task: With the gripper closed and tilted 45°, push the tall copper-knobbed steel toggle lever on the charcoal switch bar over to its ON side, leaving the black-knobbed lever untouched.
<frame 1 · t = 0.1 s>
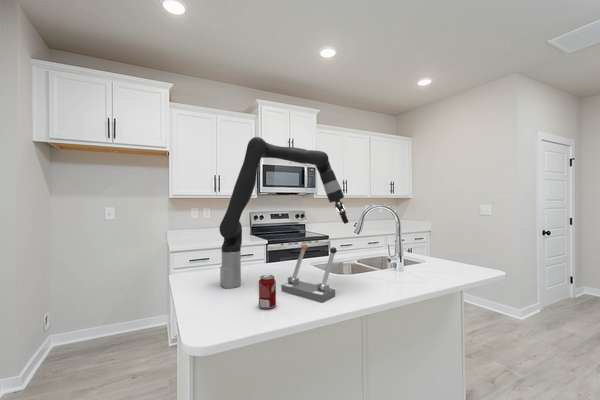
hand: (345, 222, 136), 31 cm above the counter, tool tilted 20°, fingers open, 8 cm apart
copper lever: (299, 262, 136), point 12 cm above the counter, hinge at -30.0°
switch bar: (307, 293, 127), on the counter
soda can: (267, 307, 112), on the counter
black lever: (328, 268, 125), point 12 cm above the counter, hinge at -30.0°
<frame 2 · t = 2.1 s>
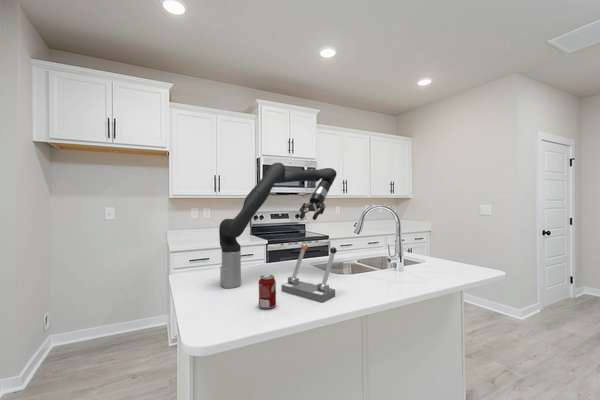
hand: (307, 218, 150), 32 cm above the counter, tool tilted 45°, fingers open, 8 cm apart
nothing on the counter moved.
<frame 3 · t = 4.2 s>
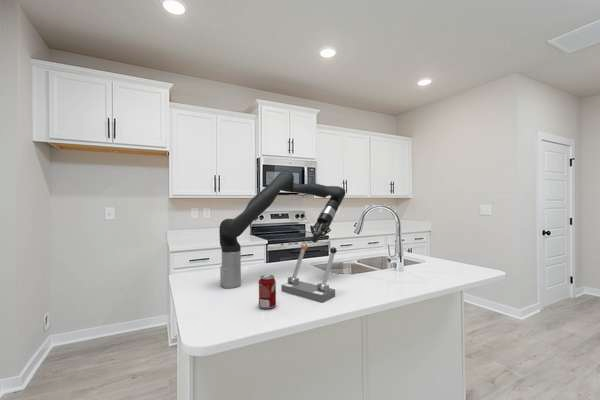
hand: (313, 241, 144), 21 cm above the counter, tool tilted 45°, fingers closed
nothing on the counter moved.
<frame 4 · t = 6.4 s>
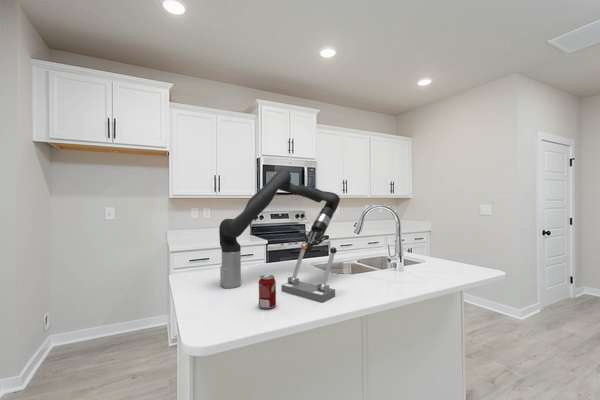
hand: (307, 250, 140), 17 cm above the counter, tool tilted 45°, fingers closed
copper lever: (298, 262, 136), point 12 cm above the counter, hinge at -29.8°, touching gripper
everything else where it was.
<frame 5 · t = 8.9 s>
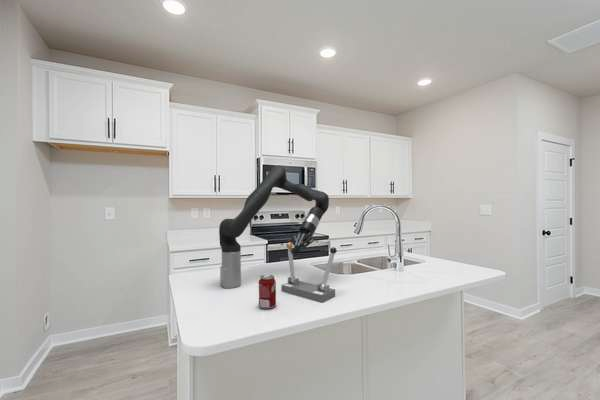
hand: (294, 253, 131), 17 cm above the counter, tool tilted 45°, fingers closed
copper lever: (291, 262, 131), point 13 cm above the counter, hinge at 8.4°, touching gripper
everything else where it was.
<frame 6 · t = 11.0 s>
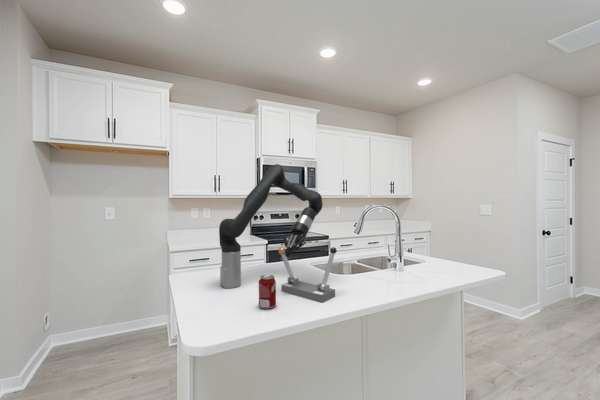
hand: (286, 255, 128), 17 cm above the counter, tool tilted 45°, fingers closed
copper lever: (287, 265, 129), point 12 cm above the counter, hinge at 27.1°, touching gripper
everything else where it was.
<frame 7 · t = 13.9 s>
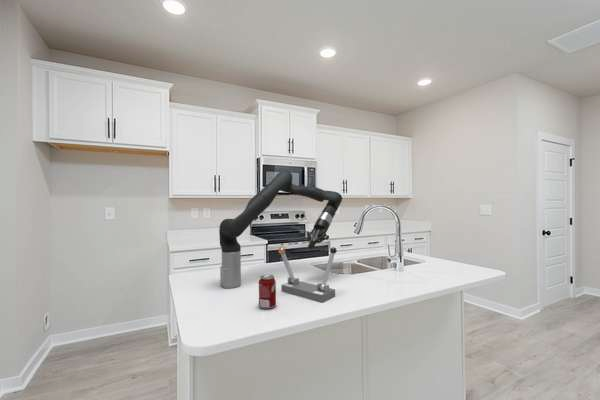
hand: (309, 248, 143), 18 cm above the counter, tool tilted 45°, fingers closed
copper lever: (287, 265, 129), point 12 cm above the counter, hinge at 27.2°
everything else where it was.
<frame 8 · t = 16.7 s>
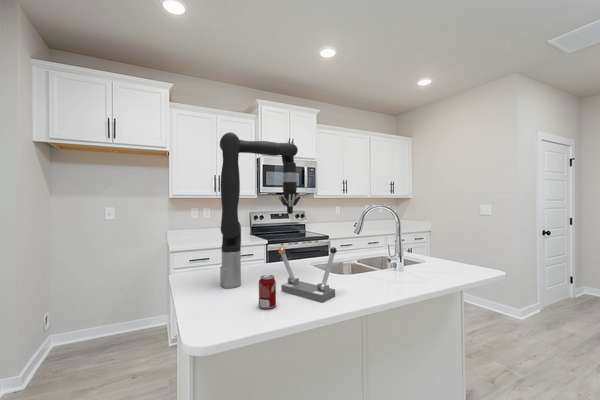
hand: (289, 213, 151), 35 cm above the counter, tool pointing down, fingers closed
nothing on the counter moved.
at the end: copper lever at +27° (first picture: -30°); black lever at -30° (first picture: -30°) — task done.
